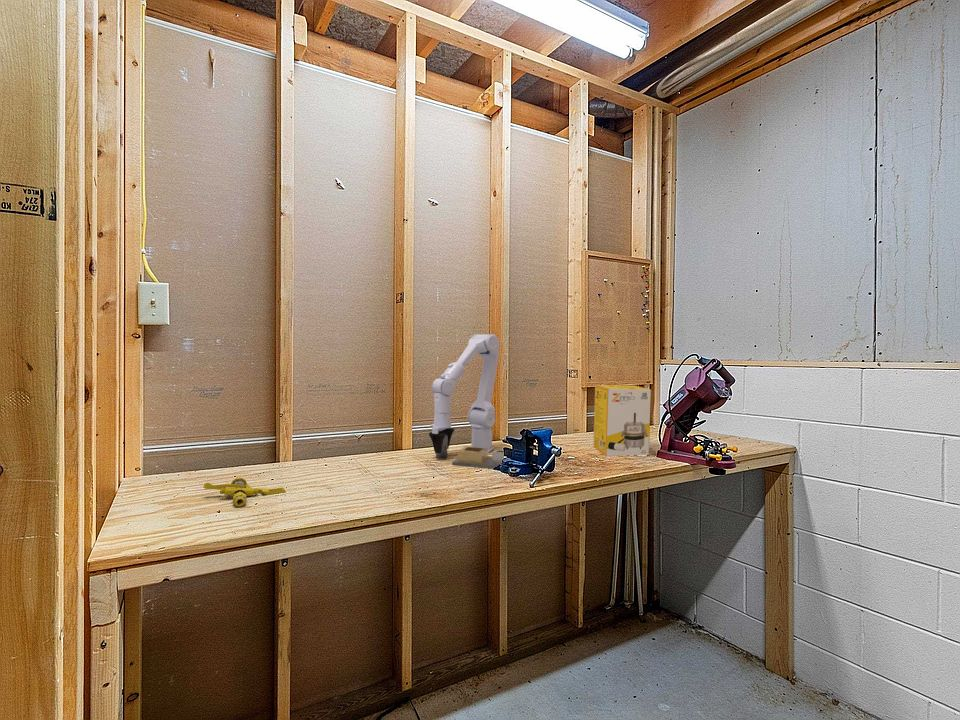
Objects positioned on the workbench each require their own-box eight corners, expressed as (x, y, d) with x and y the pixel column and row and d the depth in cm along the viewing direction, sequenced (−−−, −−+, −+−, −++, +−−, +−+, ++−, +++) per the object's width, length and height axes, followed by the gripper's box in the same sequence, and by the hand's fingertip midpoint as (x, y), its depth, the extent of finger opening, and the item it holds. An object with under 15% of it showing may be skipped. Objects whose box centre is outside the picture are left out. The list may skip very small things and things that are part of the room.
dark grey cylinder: (438, 455, 179) (438, 433, 179) (448, 456, 178) (449, 434, 178) (434, 458, 176) (434, 435, 175) (445, 459, 175) (445, 436, 174)
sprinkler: (202, 493, 117) (205, 475, 130) (199, 510, 117) (202, 490, 130) (290, 494, 126) (284, 478, 139) (287, 510, 126) (281, 492, 139)
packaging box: (632, 447, 202) (634, 385, 201) (648, 456, 186) (651, 389, 185) (593, 446, 201) (595, 384, 200) (606, 456, 185) (608, 388, 184)
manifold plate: (462, 457, 178) (463, 444, 178) (512, 461, 173) (512, 448, 173) (452, 465, 166) (452, 451, 166) (505, 469, 162) (505, 456, 162)
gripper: (438, 409, 184) (438, 445, 185) (424, 414, 171) (423, 454, 171) (457, 410, 183) (456, 447, 183) (443, 415, 169) (442, 455, 169)
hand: (441, 450), depth 177 cm, fingers open, 7 cm apart
